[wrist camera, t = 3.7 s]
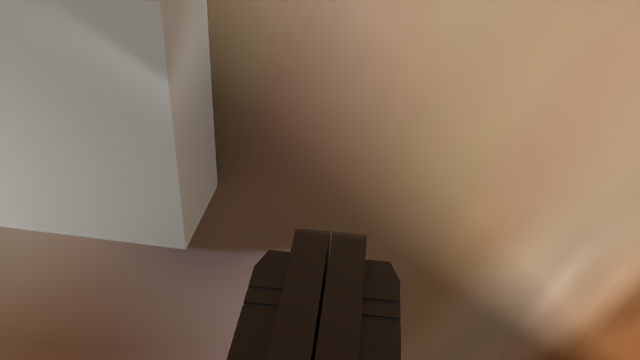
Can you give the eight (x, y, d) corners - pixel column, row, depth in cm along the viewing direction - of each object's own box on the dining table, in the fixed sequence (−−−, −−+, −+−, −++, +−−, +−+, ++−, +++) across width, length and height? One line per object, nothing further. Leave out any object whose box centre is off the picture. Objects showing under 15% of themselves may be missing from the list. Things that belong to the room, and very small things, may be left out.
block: (207, -37, 17) (159, 1, 14) (219, 181, 22) (186, 249, 18) (-42, -59, 18) (-144, -27, 15) (20, 158, 22) (-47, 220, 19)
